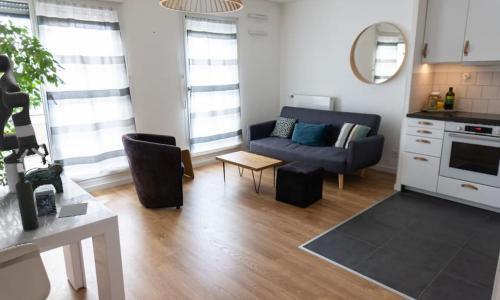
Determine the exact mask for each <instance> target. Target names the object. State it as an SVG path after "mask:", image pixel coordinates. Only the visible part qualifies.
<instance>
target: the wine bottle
mask: <svg viewBox="0 0 500 300" xmlns="http://www.w3.org/2000/svg"><path fill="white" fill-rule="evenodd" d="M17 170H18V174H19V179H20V181H19V182H17V183H16V185H15V188H16V193H15V194H16V197H17V198H16V199H17V203H18V209H19V213H20V219H21V225H22V230H23V231H24V232H32V231H35V230H38V228H39V227H40V226H39V220H38V212H37V207H36V201H35V197H34V196H33V190H32V185H31V182H30V181H28V180H25V175H24V168H23V163H22V164H21V163H19V164H17Z"/></svg>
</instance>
